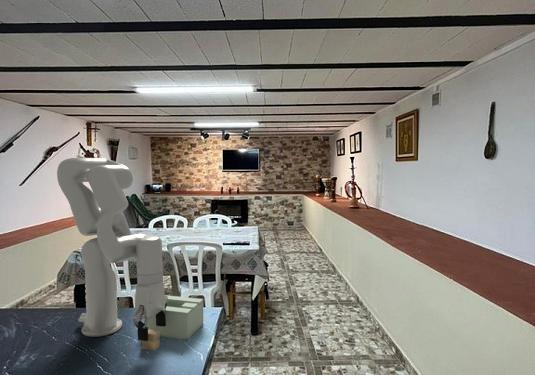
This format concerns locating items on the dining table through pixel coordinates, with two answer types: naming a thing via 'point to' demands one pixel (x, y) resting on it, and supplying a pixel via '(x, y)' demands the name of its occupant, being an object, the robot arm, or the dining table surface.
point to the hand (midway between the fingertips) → (152, 332)
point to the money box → (180, 318)
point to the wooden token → (151, 340)
